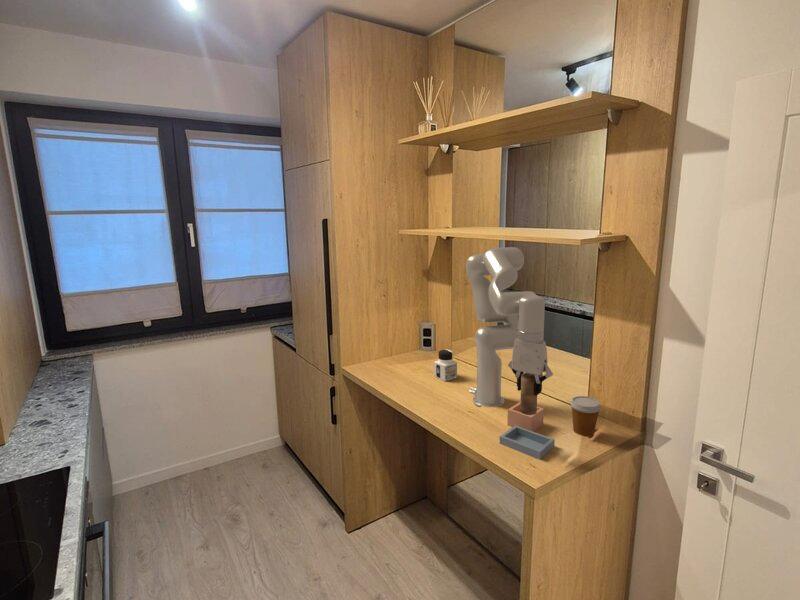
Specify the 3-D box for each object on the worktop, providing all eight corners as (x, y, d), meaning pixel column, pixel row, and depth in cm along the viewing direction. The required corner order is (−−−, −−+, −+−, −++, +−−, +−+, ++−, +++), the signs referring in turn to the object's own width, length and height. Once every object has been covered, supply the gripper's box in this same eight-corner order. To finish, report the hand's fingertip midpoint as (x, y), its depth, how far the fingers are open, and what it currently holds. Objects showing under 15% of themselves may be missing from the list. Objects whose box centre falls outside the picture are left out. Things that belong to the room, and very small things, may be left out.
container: (445, 381, 196) (445, 354, 193) (434, 376, 202) (433, 350, 199) (457, 377, 200) (457, 351, 198) (446, 373, 206) (446, 347, 204)
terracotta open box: (507, 427, 153) (507, 409, 151) (520, 418, 159) (520, 401, 157) (530, 436, 146) (531, 417, 145) (543, 426, 153) (543, 408, 151)
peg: (517, 411, 137) (518, 376, 134) (525, 406, 140) (526, 371, 138) (531, 416, 133) (533, 379, 131) (539, 411, 137) (540, 375, 134)
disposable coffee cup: (588, 444, 141) (591, 410, 138) (563, 432, 148) (564, 400, 146) (604, 435, 146) (606, 402, 144) (578, 424, 154) (580, 393, 151)
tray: (499, 446, 141) (499, 436, 140) (515, 434, 148) (515, 425, 147) (539, 462, 131) (539, 452, 130) (554, 449, 138) (554, 439, 137)
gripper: (499, 333, 135) (499, 388, 139) (551, 343, 123) (549, 403, 127) (512, 329, 140) (511, 381, 144) (563, 338, 129) (560, 395, 132)
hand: (529, 391), depth 135 cm, fingers closed on peg, 5 cm apart
